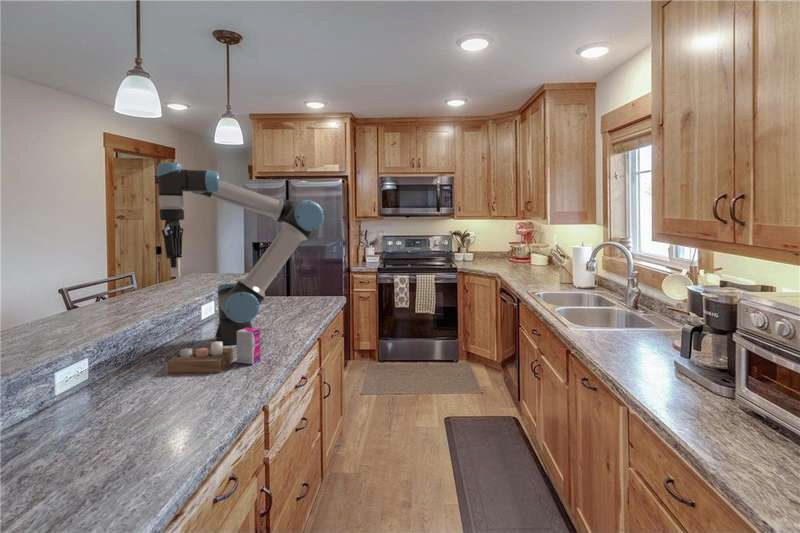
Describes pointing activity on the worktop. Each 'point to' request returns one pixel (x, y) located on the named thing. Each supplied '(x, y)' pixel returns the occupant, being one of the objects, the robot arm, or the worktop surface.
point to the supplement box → (248, 346)
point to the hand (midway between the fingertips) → (175, 276)
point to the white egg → (217, 348)
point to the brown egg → (201, 352)
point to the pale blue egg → (186, 352)
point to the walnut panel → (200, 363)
